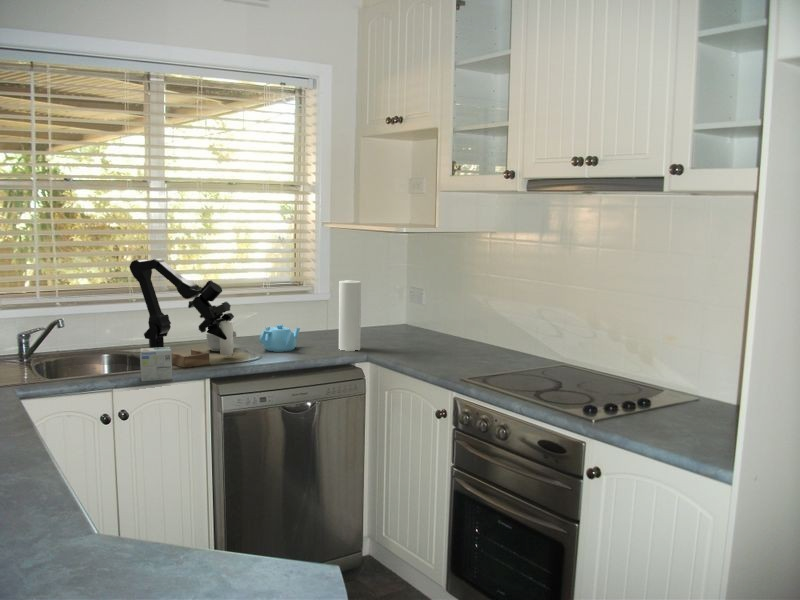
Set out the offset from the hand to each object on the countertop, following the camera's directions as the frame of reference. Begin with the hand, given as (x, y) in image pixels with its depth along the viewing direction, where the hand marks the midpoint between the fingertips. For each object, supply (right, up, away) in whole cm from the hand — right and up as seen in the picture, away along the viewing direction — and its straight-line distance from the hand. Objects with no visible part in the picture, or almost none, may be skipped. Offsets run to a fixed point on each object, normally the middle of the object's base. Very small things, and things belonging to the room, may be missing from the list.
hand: (229, 338), depth 306 cm
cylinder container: (+46, -6, +25) cm, 53 cm away
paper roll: (-2, -7, +1) cm, 7 cm away
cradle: (-14, -9, -9) cm, 19 cm away
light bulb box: (-18, -13, -34) cm, 41 cm away
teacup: (-7, -6, +19) cm, 21 cm away
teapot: (+17, -6, +23) cm, 29 cm away
